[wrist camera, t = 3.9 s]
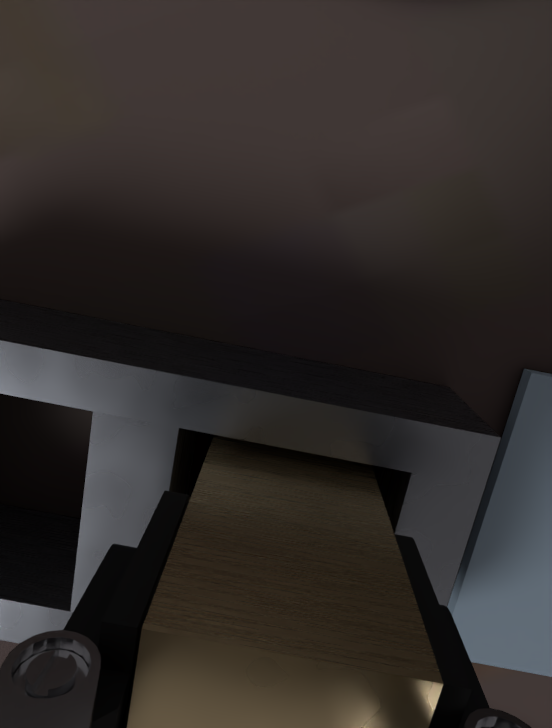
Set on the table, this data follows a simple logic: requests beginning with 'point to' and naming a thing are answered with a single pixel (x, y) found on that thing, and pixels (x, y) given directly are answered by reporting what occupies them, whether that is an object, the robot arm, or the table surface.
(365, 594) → the brass peg
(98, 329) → the cinder block
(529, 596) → the mat
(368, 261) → the table surface
